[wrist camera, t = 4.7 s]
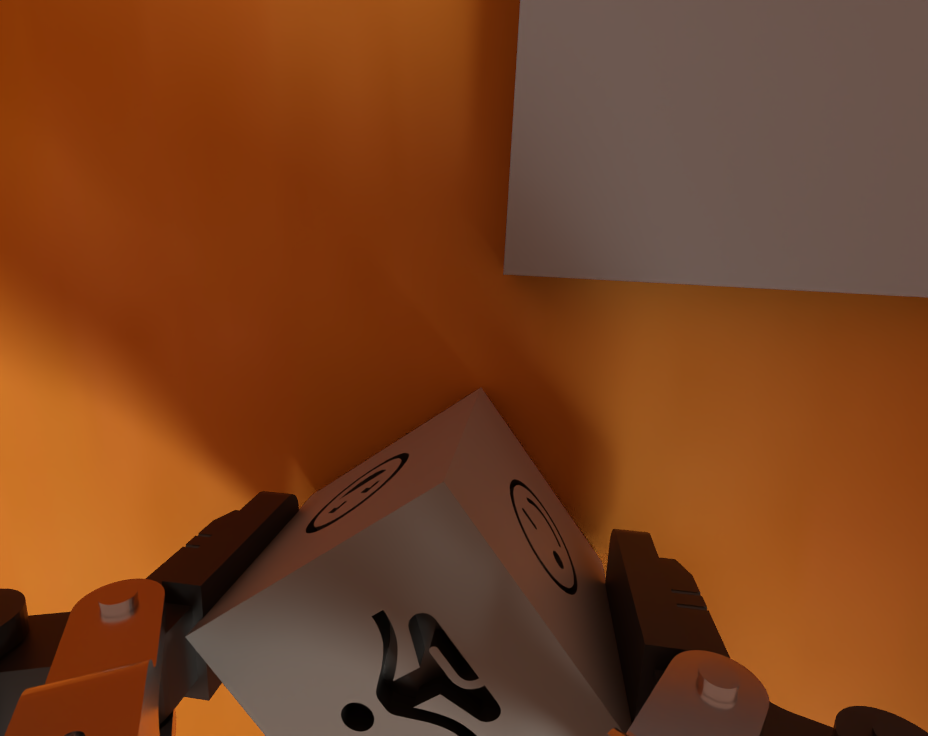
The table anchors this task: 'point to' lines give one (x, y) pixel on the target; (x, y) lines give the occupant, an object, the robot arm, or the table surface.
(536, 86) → the plate
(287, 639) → the dice cube
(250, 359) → the table surface
